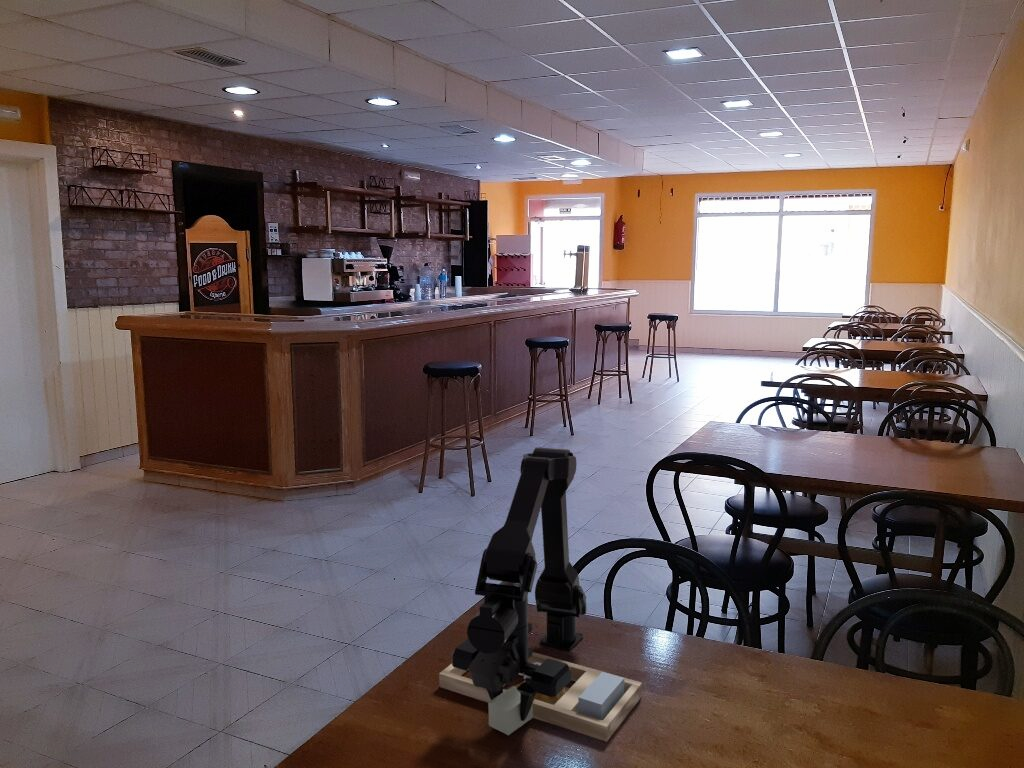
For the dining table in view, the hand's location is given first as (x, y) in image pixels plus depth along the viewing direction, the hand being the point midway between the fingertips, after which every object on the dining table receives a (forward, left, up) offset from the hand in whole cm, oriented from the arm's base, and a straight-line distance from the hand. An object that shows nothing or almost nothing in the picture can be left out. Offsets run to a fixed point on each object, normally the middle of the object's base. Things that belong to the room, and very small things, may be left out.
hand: (510, 715), depth 123 cm
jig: (-11, -1, -2) cm, 11 cm away
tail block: (0, 0, -1) cm, 1 cm away
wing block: (-11, +11, -2) cm, 15 cm away
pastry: (-9, +1, -2) cm, 10 cm away
